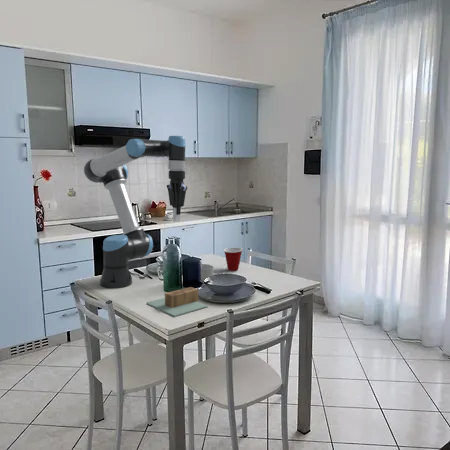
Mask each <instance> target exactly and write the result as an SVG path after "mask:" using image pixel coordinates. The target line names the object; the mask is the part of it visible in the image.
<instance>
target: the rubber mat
mask: <svg viewBox="0 0 450 450" xmlns="http://www.w3.org/2000/svg"><path fill="white" fill-rule="evenodd" d="M146 305H149V306H151V307H153V308H155V309H157V310H159V311H161V312H162V313H165V314H168V315H169V316H172V317H174V318H176V317H178V316H179V317H180V316H182V315H185V314H189V313H193V312H196V311H199V310H200V311H201V310H203V309H206V308H208V305H206V304H204V303H201V302H199V301H196V302H192V303H188V304H185V305H181V306H177V307H174V308H171V307H169V306H166V305H165V297H163V298H158V299H155V300H151V301H147V302H146Z"/></svg>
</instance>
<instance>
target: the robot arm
mask: <svg viewBox="0 0 450 450" xmlns="http://www.w3.org/2000/svg"><path fill="white" fill-rule="evenodd" d="M142 157H147V158H148V157H150V158H151V157H153V158H154V157H155V158H168V166H167V167H168V170H169V171H168V179H170V180H169V184H166V189H167V192H168V193H167V194H168V199H169V200H168V201H169V206H171V207H172V215H173V219H172V220H173V222H175V223H177V222H181V210H182V209H181V208H182V207H184V206H185V202H186V201H185V200H186V194H187V190H188V186H186V185H185V182H184V180H185V178H186V171H185V170H186V137H185V136H183V135H169V136H168V139H167V140H160V139H159V140H158V139H157V140H156V139H144V138H143V139H142V138H130V139H128V140H127V142H126V144H125V145H123V146H122V147H119V148H117V149H115V150H113V151H111V152H109V153H107V154H105V155H102V156H101V157H94V158H91V159H89V160H88V161H87V162H86V163H85V164H84V168H83V172H84V175H85V177H86V179H88V181H90V182H92V183H99V184H101V183H102V184H103V186H104V189H106V190H108V192H109V195H110V197H111V200H112V203H113V206H114V209H115V212H116V216H117V218H118V221H119V223H120V227H121V230H122V234H116V235H110V236H107V237H106V238H104V240H103V241H102V242H103V243H102V244H103V245H102V252H103V257H102V258H103V270H102V274H101V277H100V279H99V280H100V281H99V285H100V286H101V287H103V288H108V289H109V288H110V289H117V288H119V289H120V288H125V287H128V286H130V285H132V284H133V277H132V275H131V271H130V269H129V261H131V260H137V259H142V258H145V257H147V256H149V255H150V254H151V253H152V251H153V248H154V242H153V238H152V236H151V235H149V234H148V233H145V229H144V228H142V227H141V226H140V225H139V222H138V219H137V216H136V213H135V210H134V207H133V205H132V202H131V199H130V196H129V193H128V191H127V187H126V184H127V179H128V174H129V171H128V168H127V165H126V164H128V163H131V162H133V161H135V160H138V159H140V158H142Z"/></svg>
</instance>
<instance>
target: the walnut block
mask: <svg viewBox="0 0 450 450" xmlns="http://www.w3.org/2000/svg"><path fill="white" fill-rule="evenodd" d="M164 298H165V305H166V306H169V307H171V308H174V307H177V306H181V305H185V304H188V303H192V302H196V301H197V302H199V289H198V288H195V287H192V286H190V287H189V286H188V287H186V288H185V287H184V288H181V289H178V290H177V289H176V290H173V291H168V292H165V293H164Z"/></svg>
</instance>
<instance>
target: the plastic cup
mask: <svg viewBox="0 0 450 450" xmlns="http://www.w3.org/2000/svg"><path fill="white" fill-rule="evenodd" d="M223 252H224V255H225V261H226V265H227V266H226V267H227V270H228V271H229V272H236V271H239V268H240V267H239V266H240V263H241V256H242V252H243V248H242V247H234V246H233V247H226V248H224V249H223Z"/></svg>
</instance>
